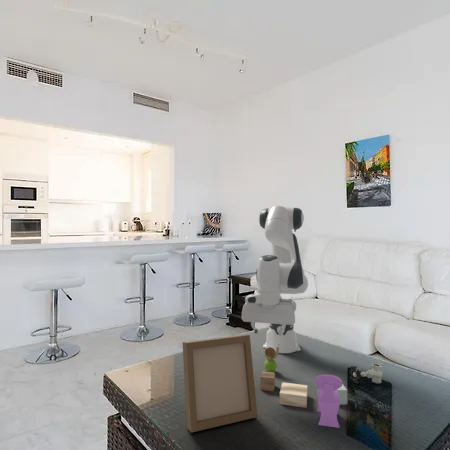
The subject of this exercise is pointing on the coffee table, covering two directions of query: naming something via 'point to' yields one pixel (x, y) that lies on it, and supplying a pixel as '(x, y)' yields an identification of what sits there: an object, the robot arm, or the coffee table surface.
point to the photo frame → (218, 382)
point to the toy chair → (328, 399)
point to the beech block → (293, 394)
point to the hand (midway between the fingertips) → (268, 334)
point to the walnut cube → (267, 381)
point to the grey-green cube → (342, 395)
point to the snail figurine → (270, 359)
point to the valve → (367, 373)
